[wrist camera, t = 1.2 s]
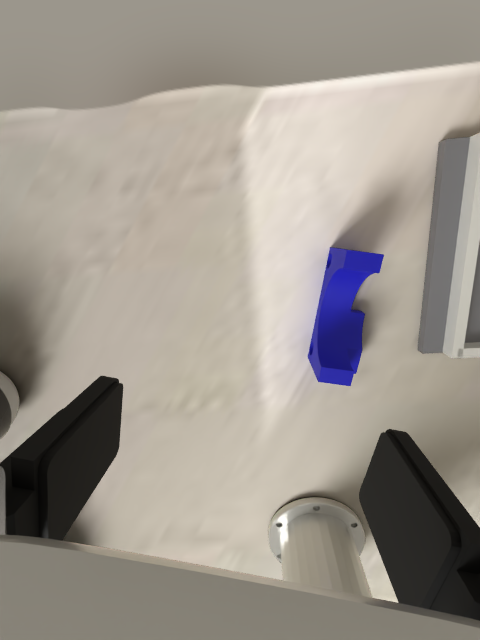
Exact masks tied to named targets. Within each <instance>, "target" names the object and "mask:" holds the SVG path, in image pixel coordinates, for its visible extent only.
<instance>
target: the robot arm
mask: <svg viewBox="0 0 480 640" xmlns="http://www.w3.org/2000/svg"><path fill="white" fill-rule="evenodd" d="M122 397H123V384H121V383H119V380H118V379H117V378H111V377H106V376H100V377H99V378H98V379H97V380H95V381H94V382H93V383H92V384H91V385H90V386H89V387H88V388H87V389H85V390H84V391H83V392H82V393H81V394H80V395H79V396H78V397H76V398H75V399H74V400H73V401H72V402H71V403H70V404H69V405H67V406H66V407H65V408H64V409H62V410H60V411H59V412H58V413H56V414H55V415H54V416H53V417H52V418H51V419H50V420H49V421H47V422H46V423H45V424H44V425H43V426H42V427H41V428H40V429H38V430H37V431H36V432H35V433H34V434H33V435H32V436H30V437H29V438H28V439H27V440H26V441H25V442H24V443H23V444H21V445H20V446H19V447H18V448H17V449H16V450H15V451H14V452H12V453H11V454H10V455H9V456H8V457H7V458H6V459H4V460H3V461H2V462H1V463H0V640H480V528H479V526H478V525H477V524H476V522H475V521H474V520H473V518H472V517H471V516H470V514H469V513H468V512H467V511H466V509H465V508H464V507H463V505H462V504H461V503H460V501H459V500H458V499H457V497H456V496H455V495H454V493H453V492H452V491H451V490H450V488H449V487H448V486H447V484H446V483H445V482H444V480H443V479H442V478H441V476H440V475H439V474H438V472H437V471H436V470H435V469H434V467H433V466H432V465H431V463H430V462H429V461H428V459H427V458H426V457H425V455H424V454H423V453H422V451H421V450H420V449H419V448H418V446H417V445H416V444H415V442H414V441H413V440H412V438H411V437H410V436H409V434H408V433H406V432H402V431H397V430H392V429H388V430H387V431H386V432H383V433H381V435H380V437H379V440H378V443H377V446H376V448H375V451H374V454H373V456H372V459H371V462H370V465H369V467H368V470H367V473H366V475H365V478H364V481H363V483H362V486H361V489H360V493H359V499H360V503H361V506H362V509H363V511H364V514H365V516H366V519H367V522H368V524H369V527H370V529H371V532H372V534H373V537H374V540H375V542H376V545H377V547H378V550H379V553H380V555H381V558H382V560H383V563H384V566H385V568H386V571H387V573H388V576H389V579H390V581H391V584H392V586H393V589H394V591H395V594H396V597H397V599H398V602H399V603H396V602H391V601H386V600H381V599H375V598H372V594H371V591H370V588H369V585H368V582H367V579H366V576H365V572H364V569H363V566H362V563H361V560H360V557H359V556H360V555H361V553H362V551H363V548H364V545H365V533H364V530H363V527H362V524H361V522H360V520H359V518H358V516H357V515H356V514H355V513H354V512H353V511H352V510H351V509H350V508H349V507H347V506H346V505H344V504H342V503H340V502H337V501H335V500H332V499H327V498H319V497H311V498H303V499H299V500H296V501H293V502H291V503H289V504H287V505H285V506H284V507H282V508H281V509H280V510H279V511H278V512H277V513H276V514H275V515H274V516H273V518H272V520H271V521H270V524H269V528H268V542H269V546H270V550H271V552H272V553H273V555H274V557H275V558H276V559H277V560H278V561H279V562H280V563H282V576H283V580H277V579H272V578H267V577H262V576H256V575H251V574H246V573H240V572H235V571H230V570H224V569H219V568H214V567H208V566H203V565H198V564H192V563H187V562H181V561H176V560H170V559H165V558H159V557H154V556H148V555H143V554H137V553H132V552H126V551H121V550H115V549H110V548H104V547H98V546H91V545H85V544H79V543H73V542H67V541H62V539H63V538H64V536H65V535H66V533H67V532H68V530H69V528H70V527H71V525H72V524H73V522H74V521H75V519H76V518H77V516H78V514H79V513H80V511H81V510H82V508H83V507H84V505H85V504H86V502H87V500H88V499H89V497H90V496H91V494H92V493H93V491H94V489H95V488H96V486H97V485H98V483H99V482H100V480H101V479H102V477H103V475H104V474H105V472H106V471H107V469H108V468H109V466H110V465H111V463H112V461H113V460H114V458H115V457H116V455H117V452H118V449H119V442H120V427H121V412H122Z"/></svg>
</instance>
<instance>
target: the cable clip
mask: <svg viewBox="0 0 480 640" xmlns="http://www.w3.org/2000/svg"><path fill="white" fill-rule="evenodd" d="M383 257H384V255H383V254H376V253H369V252H362V251H354V250H346V249H339V248H331V247H330V251H329V255H328V260H327V265H326V270H325V275H324V280H323V285H322V290H321V295H320V300H319V305H318V310H317V314H316V319H315V324H314V329H313V334H312V339H311V344H310V349H309V354H308V359H309V361H310V363H311V366H312V368H313V370H314V373H315V375H316V378H317V380H318V382H324V383H331V384H339V385H346V386H351V382H352V378H353V374H356V372H357V368H358V365H359V361H360V357H361V353H362V328H363V321H364V316H365V313H363V312H362V311H359V310H351V307H352V304H353V301H354V298H355V296H356V293H357V291H358V289H359V287H360V286H361V284H362V283H363V281H364V280H365V279H366V278H367V277H368V276H369V275H371V274H373V273H379V272H380V268H381V264H382V261H383Z"/></svg>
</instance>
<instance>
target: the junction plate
mask: <svg viewBox="0 0 480 640" xmlns="http://www.w3.org/2000/svg"><path fill="white" fill-rule="evenodd" d="M418 351H420V352H421V353H444V354H445V355H447V356H449V357H450V358H476V357H480V133H478V134H475V135H473V136H471V137H464V138H453V139H445V140H443V141H441V142H439V148H438V157H437V167H436V177H435V186H434V196H433V206H432V215H431V225H430V235H429V244H428V254H427V264H426V273H425V283H424V293H423V302H422V312H421V322H420V331H419V341H418Z"/></svg>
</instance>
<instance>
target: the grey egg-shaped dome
mask: <svg viewBox="0 0 480 640" xmlns="http://www.w3.org/2000/svg"><path fill="white" fill-rule="evenodd" d="M18 409H19V395H18V392H17V389H16V387H15V385H14V384H13V382H12V381H11V380H10V379H9V378H8V377H7V376H6V375H5V374H3V373H2V372H0V439H2V438H3V437H4V436H5V435H6V433H7V432H8V430H9V428H10V425H11V424H12V423H13V421H14V419H15V417H16V415H17V413H18Z"/></svg>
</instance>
